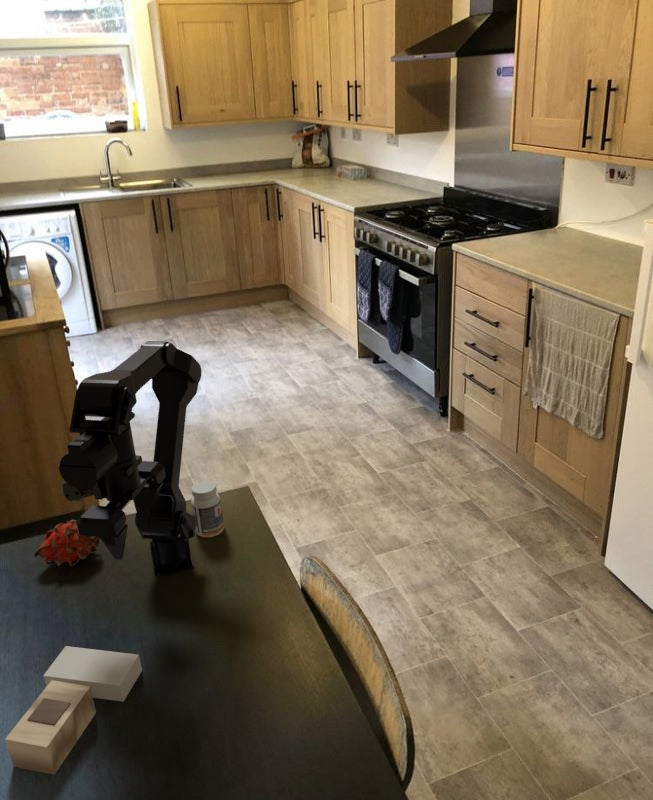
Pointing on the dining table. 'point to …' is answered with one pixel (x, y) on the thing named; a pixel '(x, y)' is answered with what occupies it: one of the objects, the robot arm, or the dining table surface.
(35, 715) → the birch block
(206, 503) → the pill bottle
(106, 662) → the grey plinth
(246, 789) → the dining table surface
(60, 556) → the dragon fruit
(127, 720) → the dining table surface
